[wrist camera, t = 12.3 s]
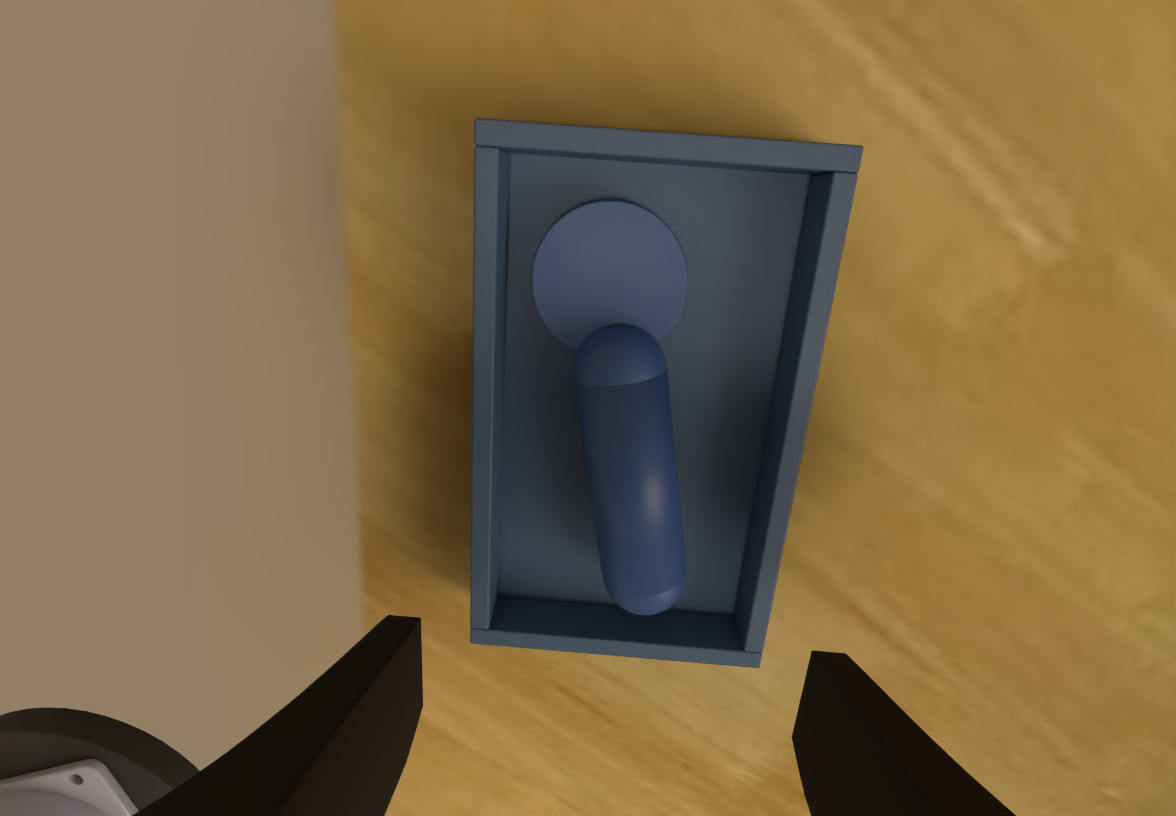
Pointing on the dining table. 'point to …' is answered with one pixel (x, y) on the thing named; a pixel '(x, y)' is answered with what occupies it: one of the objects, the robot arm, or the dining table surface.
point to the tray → (695, 374)
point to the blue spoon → (622, 385)
